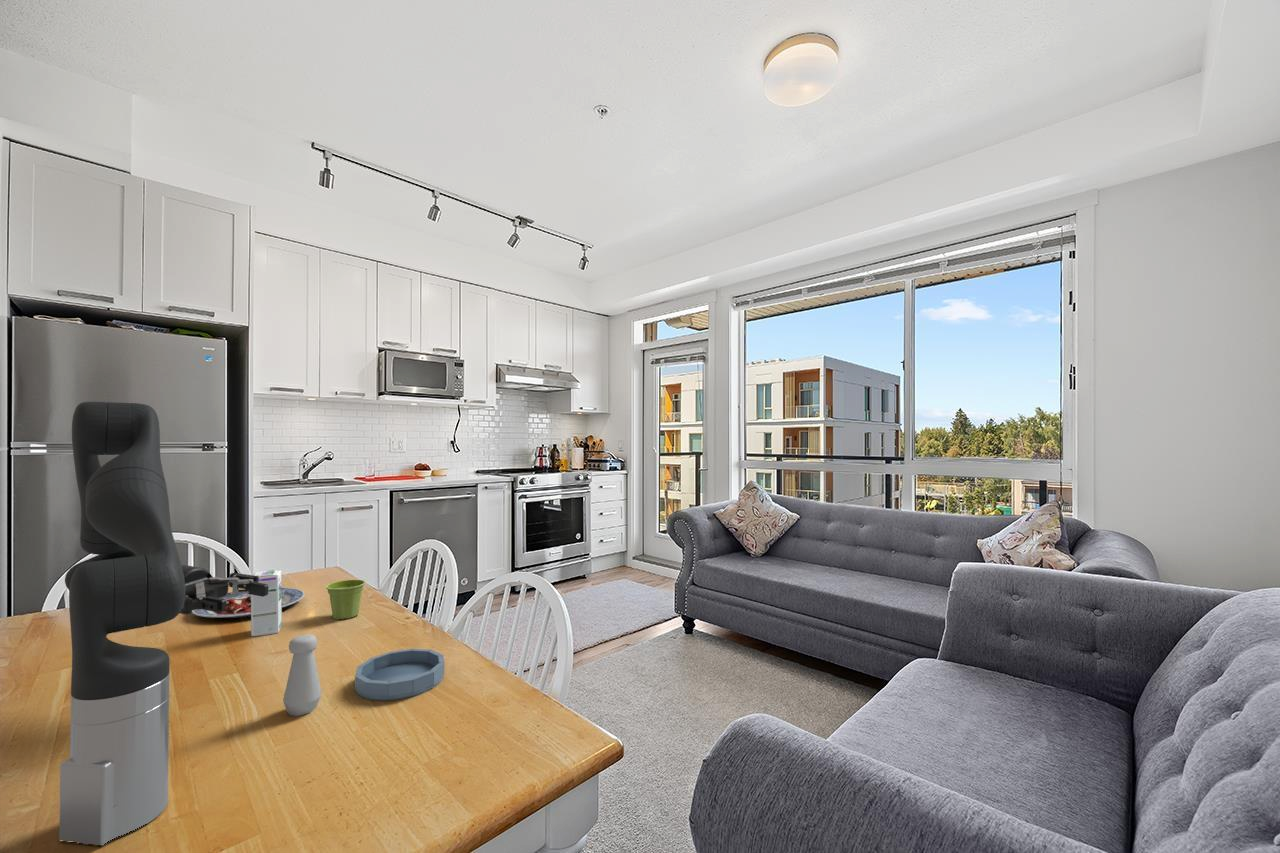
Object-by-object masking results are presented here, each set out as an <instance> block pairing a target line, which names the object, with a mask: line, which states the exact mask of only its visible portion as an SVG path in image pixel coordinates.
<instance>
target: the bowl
mask: <svg viewBox="0 0 1280 853" xmlns="http://www.w3.org/2000/svg"><path fill="white" fill-rule="evenodd" d="M443 676H445V658H444V654H443V653H440V652H438V651H436V650H433V649H430V648H429V649H426V648H407V649H399V650H393V651H388V652H386V653H385V652H384V653H382V654H379V655H376V656H372V657H370V658H368V659H367V660H365V661H364V662H362V663H361V664H360V665H358V666H357V667H356V670H355V676H354V690H355V692H356V694H357V695H358V696H360V697H361V698H363V699H366V700H371V701H381V702H383V701H386V702H387V701H397V700H403V699H408V698H412V697H414V696H415V697H416V696H418V695H420V694H424V693H425V692H428V691H430V690H432V689H434V688H435V687H437V686H438V685H439V684H441V682H442V681H443V679H444V677H443ZM441 680H442V681H441ZM436 685H437V686H436ZM433 687H434V688H433ZM431 688H432V689H431Z"/></svg>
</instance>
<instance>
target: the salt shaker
mask: <svg viewBox="0 0 1280 853" xmlns="http://www.w3.org/2000/svg"><path fill="white" fill-rule="evenodd" d="M288 643H289V645H288V650H289V652H290V653H291V654H292V659H291V664H290V667H289V668H290V669H289V673H288V678H287V681H286V685H285V686H286V687H285V691H284V695H283V705H284V707H285V709H286V711H287V714H288V715H289V716H295V717H301V716H303V715H306V714H310V713H312V712H313V711H314V710H315V709H316V708H317V707H318V705H319V702H320V700H321V697H322V695H323V694H322V688H321V683H320V678H319V676H320V675H319V673H318V666H317V660H316V656H315V651H314V650H316V648H317V647H318V639H317V637H316V635H313V634H301V635H297V636H295V637H293V638H292V639H291V640H290V641H289V642H288Z"/></svg>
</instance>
